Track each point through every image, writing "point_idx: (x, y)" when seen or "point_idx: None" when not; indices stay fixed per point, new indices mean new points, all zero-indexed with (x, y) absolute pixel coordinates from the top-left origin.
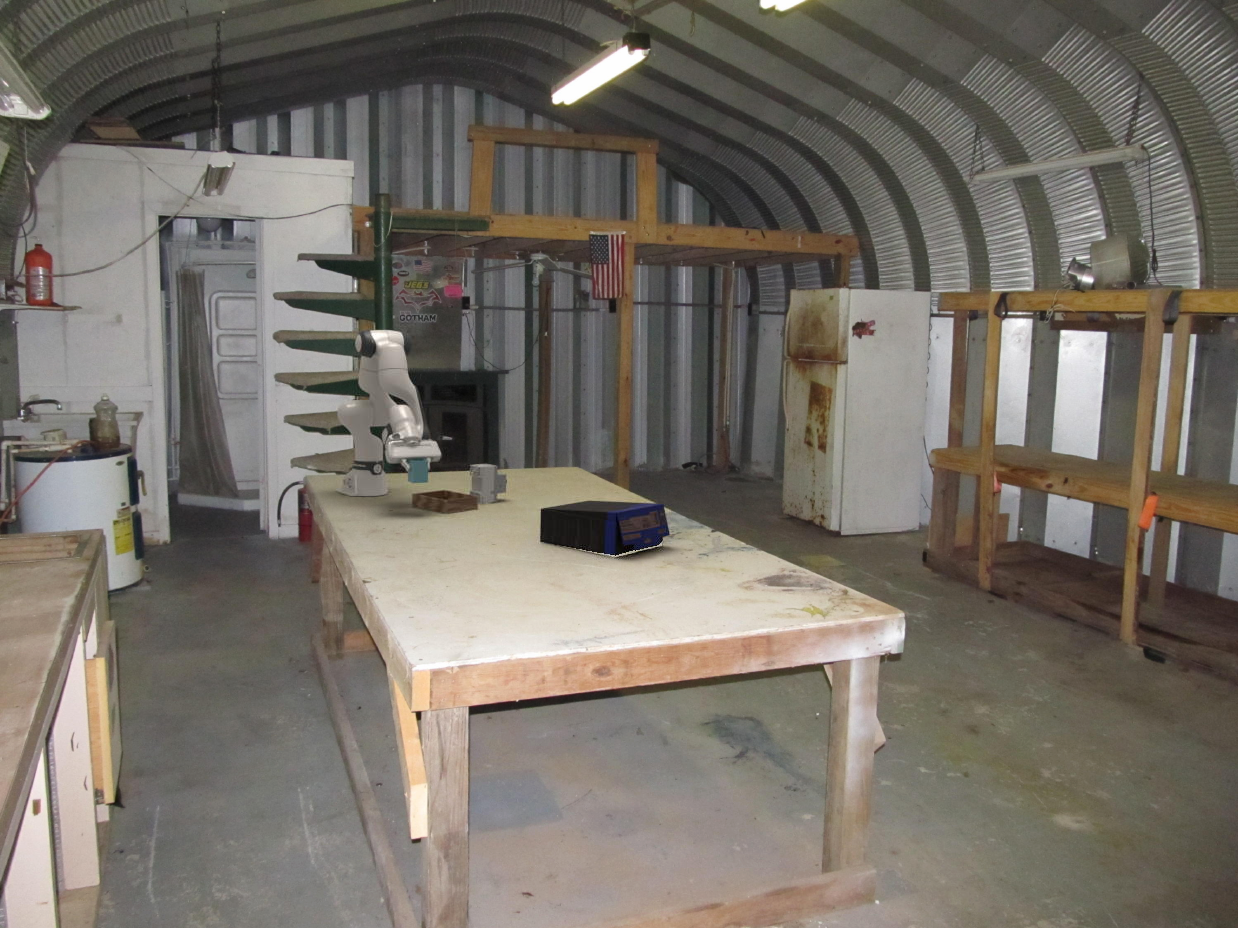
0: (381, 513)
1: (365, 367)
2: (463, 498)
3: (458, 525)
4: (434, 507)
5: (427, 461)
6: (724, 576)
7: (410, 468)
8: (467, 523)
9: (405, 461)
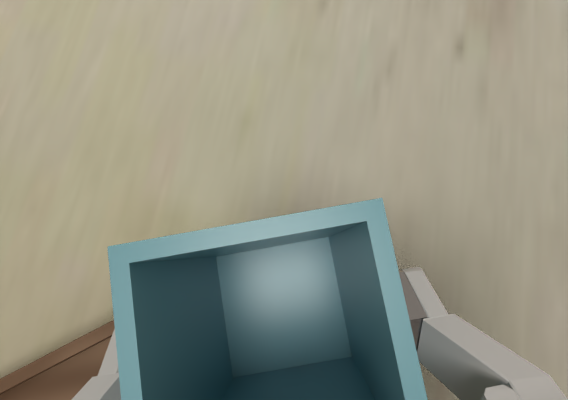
0: (444, 387)
1: None
2: (5, 376)
3: (174, 45)
4: None
5: (125, 244)
6: None
7: None
8: (130, 74)
9: (494, 388)
